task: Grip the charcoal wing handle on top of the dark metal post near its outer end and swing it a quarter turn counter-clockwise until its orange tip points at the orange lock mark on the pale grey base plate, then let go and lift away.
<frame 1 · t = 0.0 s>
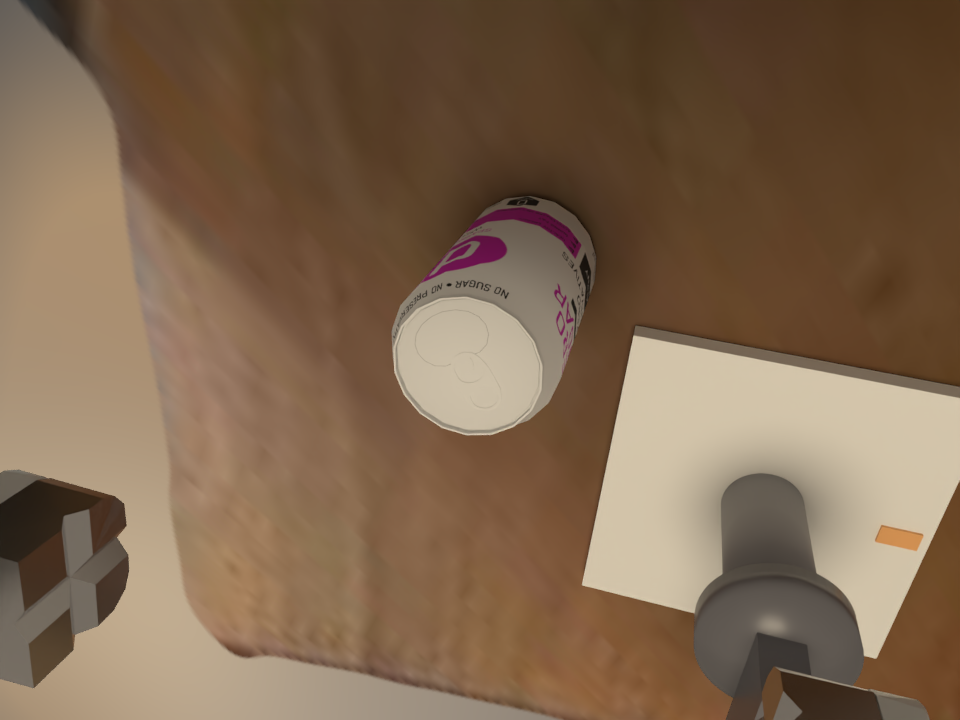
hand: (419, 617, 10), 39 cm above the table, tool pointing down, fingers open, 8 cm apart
twist knob: (761, 719, 40), point 15 cm above the table, hinge at 0.0°
supplement can: (531, 258, 49), on the table
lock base: (760, 492, 52), on the table
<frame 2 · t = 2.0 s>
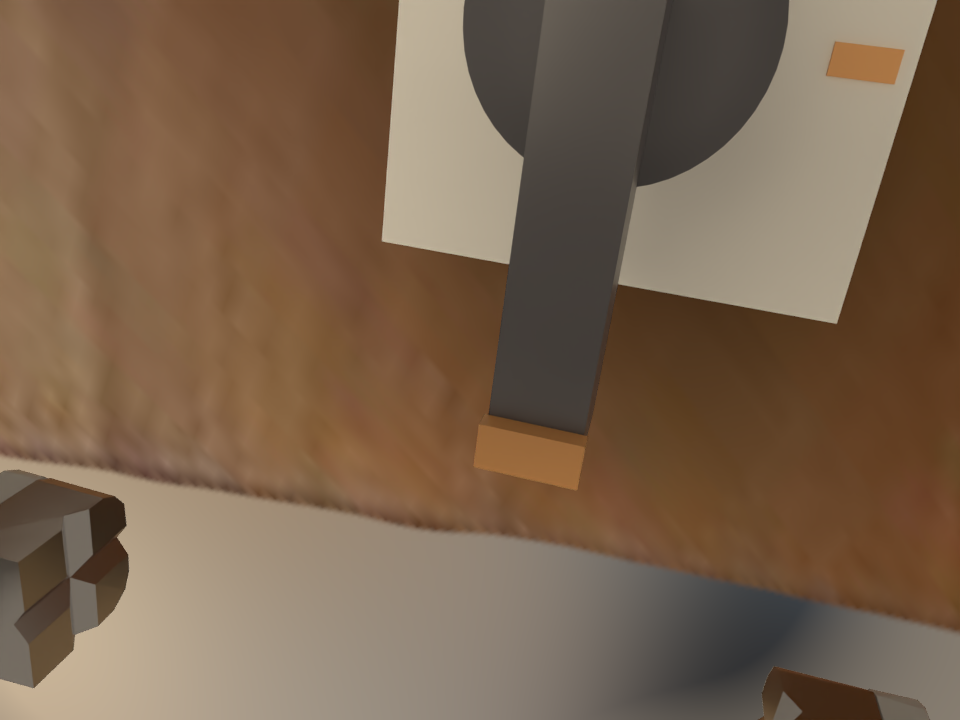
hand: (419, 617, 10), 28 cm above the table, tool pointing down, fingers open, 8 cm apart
twist knob: (589, 165, 20), point 15 cm above the table, hinge at 0.0°
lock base: (644, 35, 32), on the table
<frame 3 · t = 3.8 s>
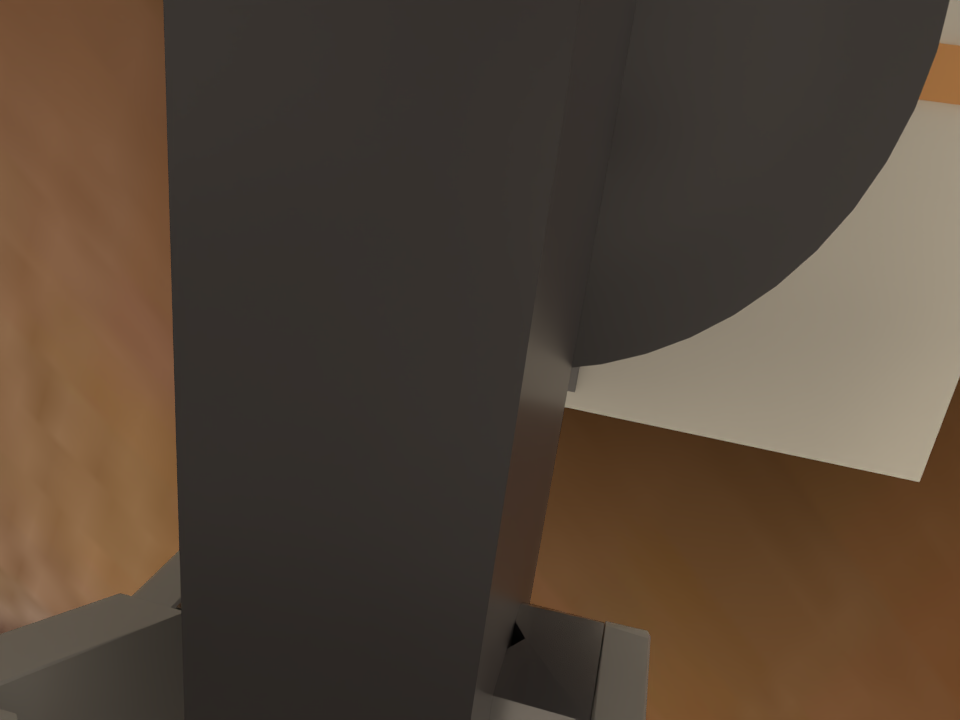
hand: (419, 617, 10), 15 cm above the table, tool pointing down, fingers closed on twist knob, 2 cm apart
twist knob: (444, 342, 8), point 15 cm above the table, hinge at 0.0°, touching gripper
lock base: (619, 33, 21), on the table
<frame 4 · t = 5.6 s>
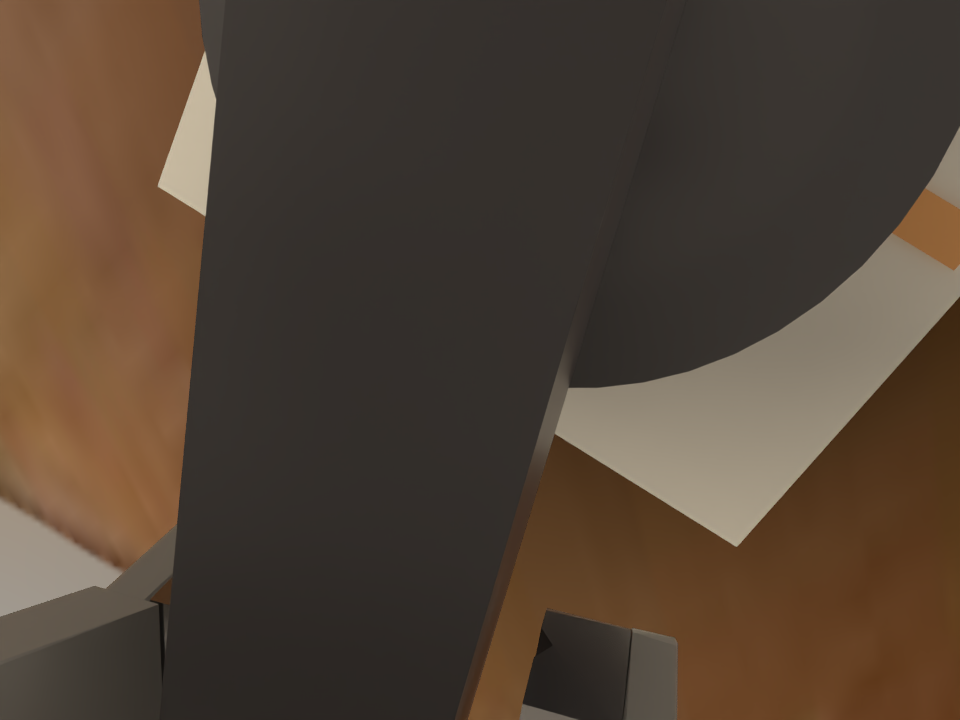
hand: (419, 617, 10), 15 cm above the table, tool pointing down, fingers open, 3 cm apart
twist knob: (450, 355, 8), point 15 cm above the table, hinge at 15.8°, touching gripper
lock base: (636, 44, 21), on the table
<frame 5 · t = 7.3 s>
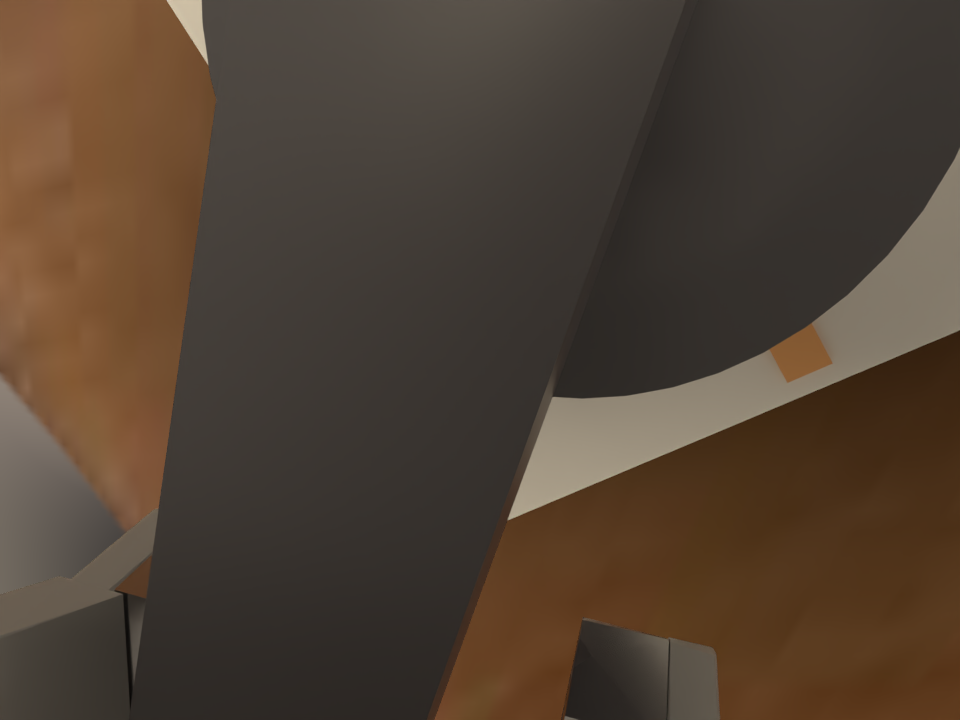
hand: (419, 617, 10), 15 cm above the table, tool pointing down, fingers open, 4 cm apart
twist knob: (436, 362, 8), point 15 cm above the table, hinge at 41.2°, touching gripper
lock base: (638, 45, 21), on the table
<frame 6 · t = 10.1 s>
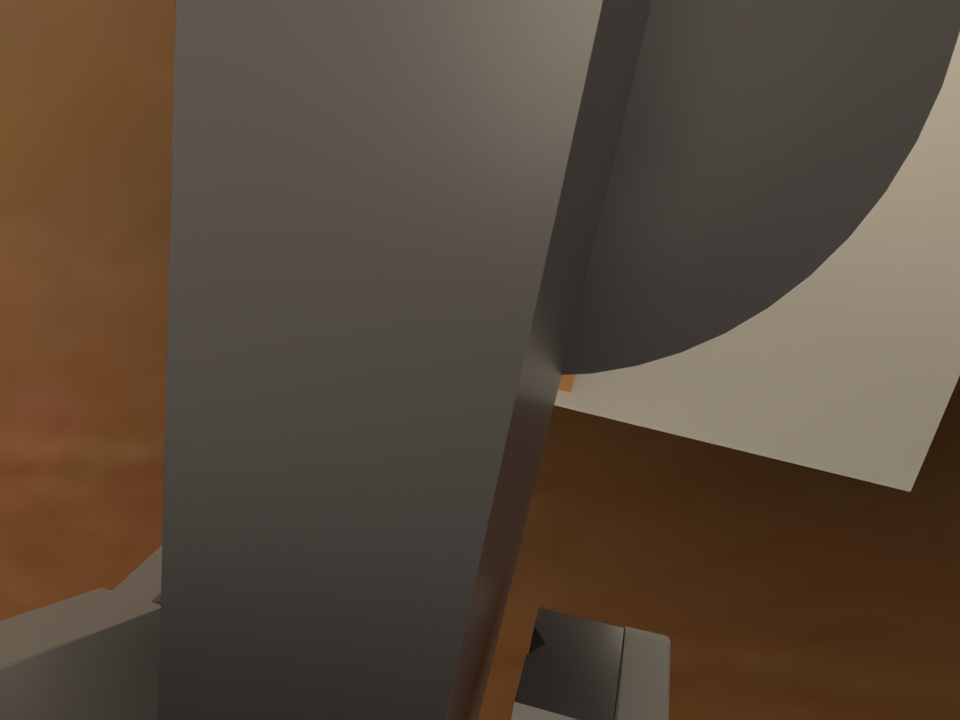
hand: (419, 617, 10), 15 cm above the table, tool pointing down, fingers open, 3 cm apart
twist knob: (437, 345, 8), point 15 cm above the table, hinge at 88.3°, touching gripper
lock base: (627, 34, 21), on the table
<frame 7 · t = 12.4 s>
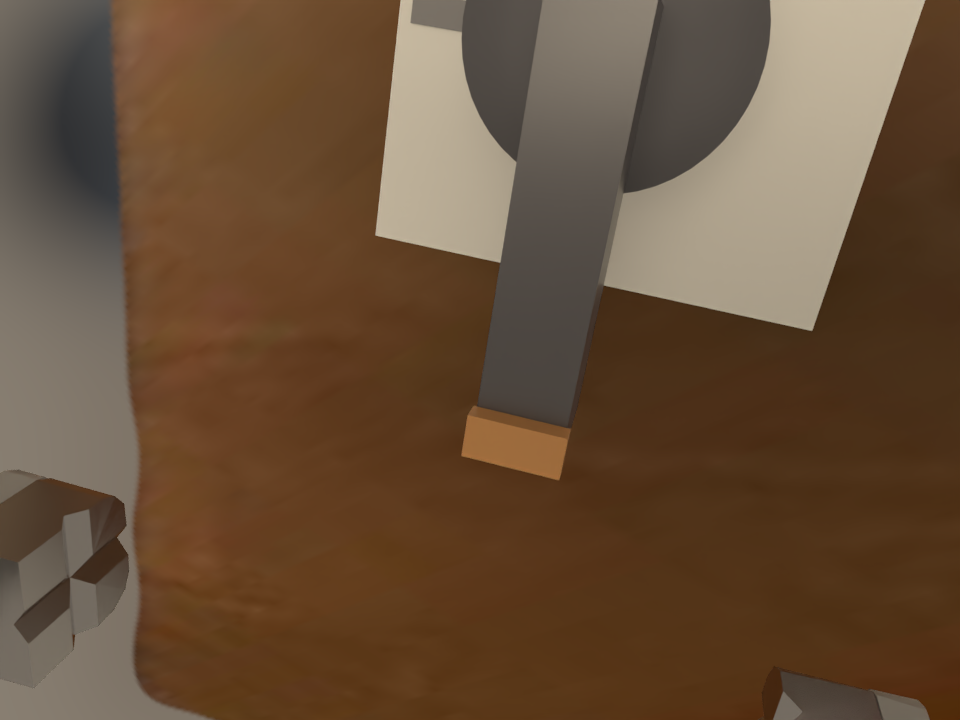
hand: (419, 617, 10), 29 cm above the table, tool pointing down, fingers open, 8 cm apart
twist knob: (578, 172, 21), point 15 cm above the table, hinge at 90.6°
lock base: (637, 45, 33), on the table
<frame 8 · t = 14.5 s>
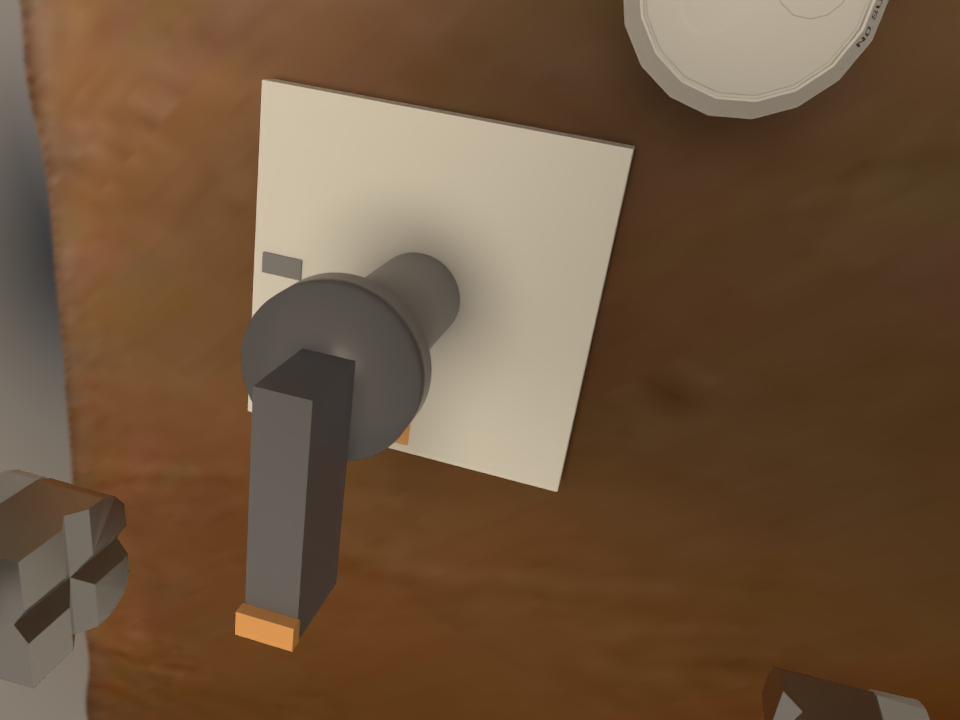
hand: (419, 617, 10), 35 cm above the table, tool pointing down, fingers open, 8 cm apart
twist knob: (308, 457, 34), point 15 cm above the table, hinge at 90.6°
supplement can: (731, 7, 38), on the table
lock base: (425, 289, 46), on the table
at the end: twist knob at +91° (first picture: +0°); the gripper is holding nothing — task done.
